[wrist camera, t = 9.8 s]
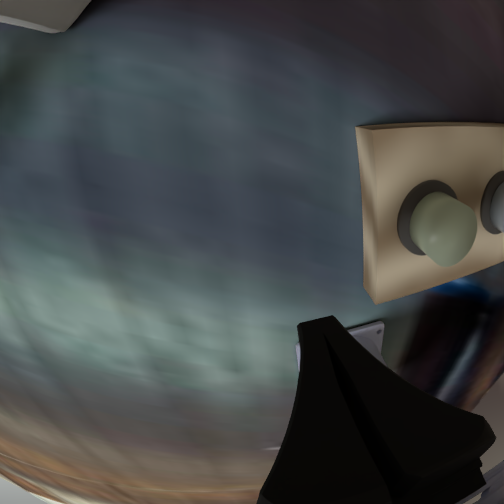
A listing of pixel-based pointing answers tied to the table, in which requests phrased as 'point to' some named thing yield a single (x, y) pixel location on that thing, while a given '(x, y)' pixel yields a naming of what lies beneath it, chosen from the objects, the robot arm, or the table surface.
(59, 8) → the photo printer
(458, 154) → the button panel
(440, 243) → the button sage
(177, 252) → the table surface
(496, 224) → the button slate
